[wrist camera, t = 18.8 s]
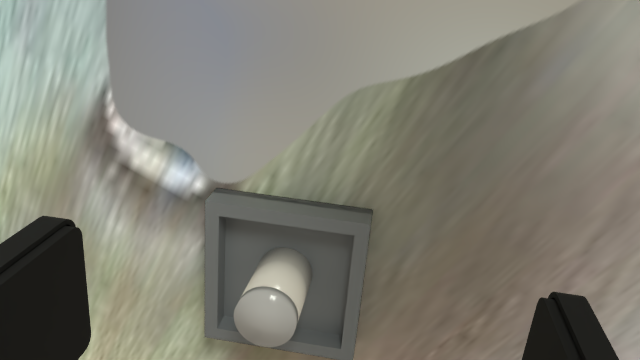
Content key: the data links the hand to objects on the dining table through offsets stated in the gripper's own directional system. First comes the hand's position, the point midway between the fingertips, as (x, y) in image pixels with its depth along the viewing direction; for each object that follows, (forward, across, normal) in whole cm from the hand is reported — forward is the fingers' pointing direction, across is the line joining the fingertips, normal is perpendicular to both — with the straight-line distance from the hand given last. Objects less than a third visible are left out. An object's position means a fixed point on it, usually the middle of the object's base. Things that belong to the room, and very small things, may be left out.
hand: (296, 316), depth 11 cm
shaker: (+33, +6, +20) cm, 39 cm away
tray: (+34, +6, +20) cm, 40 cm away
